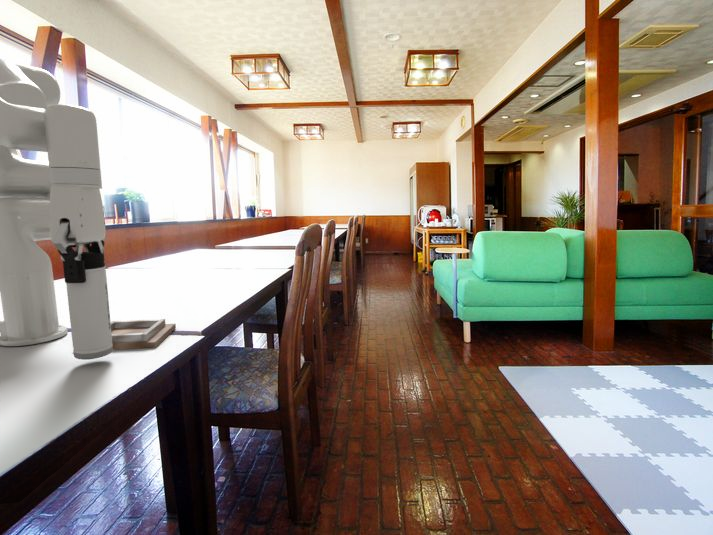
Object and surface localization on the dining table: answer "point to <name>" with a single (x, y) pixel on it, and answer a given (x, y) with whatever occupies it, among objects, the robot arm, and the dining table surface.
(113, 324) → the plate
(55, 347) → the dining table surface
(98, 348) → the travel mug
